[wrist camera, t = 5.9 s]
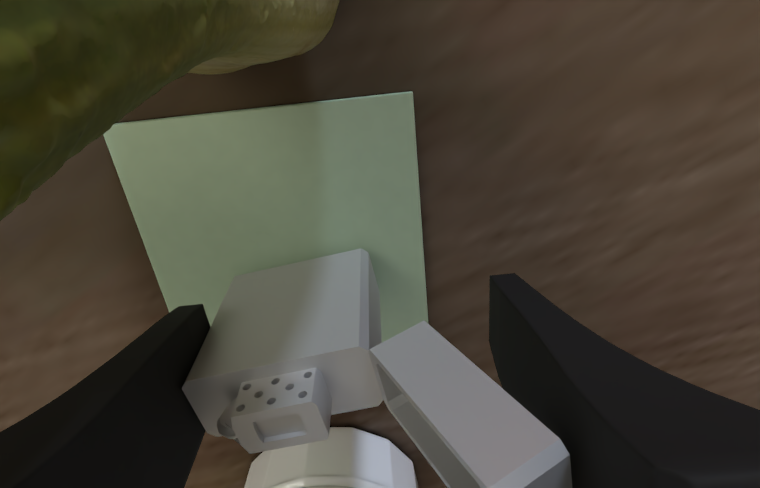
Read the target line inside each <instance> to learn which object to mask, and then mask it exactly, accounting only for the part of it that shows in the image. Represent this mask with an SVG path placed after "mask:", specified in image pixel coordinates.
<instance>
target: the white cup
mask: <svg viewBox="0 0 760 488" xmlns="http://www.w3.org/2000/svg"><path fill="white" fill-rule="evenodd" d="M244 488H419V486H418V482H417V478H416V474H415V470H414V466H413V462H412V461H411V460H410V459H409V458H408V457H407V456H406V455H405V454H404V453H403V452H402V451H400V450H399V449H398V448H397V447H396V446H395V445H394V444H393V443H392V442H391V441H389V440H388V439H386V438H383V437H380V436H377V435H374V434H371V433H368V432H365V431H362V430H359V429H356V428H353V427H330V430H329V437H328V439H327V440H322V441H317V442H311V443H306V444H301V445H295V446H290V447H285V448H279V449H274V450H269V451H263V452H262V453H261V454H260V455H259V456H258V457H257V458H256V459H255V460H254V461H253V462H252V463H251V466H250V469H249V473H248V476H247V480H246V483H245V487H244Z"/></svg>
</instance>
